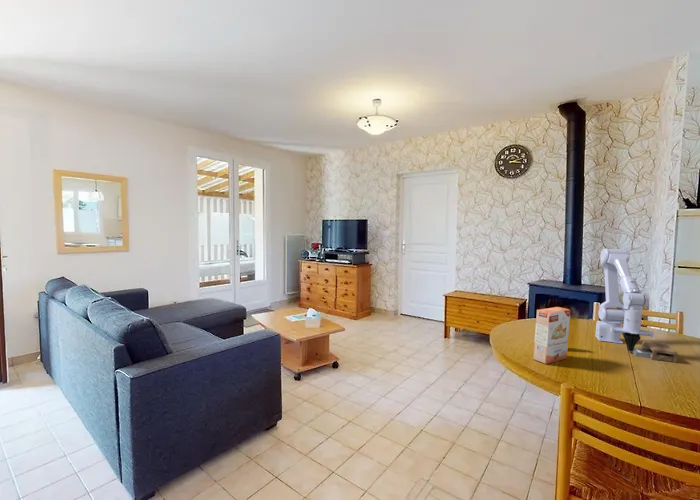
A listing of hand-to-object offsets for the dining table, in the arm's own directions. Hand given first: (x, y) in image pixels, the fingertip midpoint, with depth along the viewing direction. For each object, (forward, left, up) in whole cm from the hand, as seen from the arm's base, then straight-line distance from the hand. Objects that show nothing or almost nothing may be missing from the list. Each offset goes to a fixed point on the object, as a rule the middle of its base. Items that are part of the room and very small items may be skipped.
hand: (629, 350), depth 149 cm
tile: (+6, 0, -1) cm, 7 cm away
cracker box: (-33, -24, -1) cm, 41 cm away
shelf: (+10, 0, -1) cm, 10 cm away
